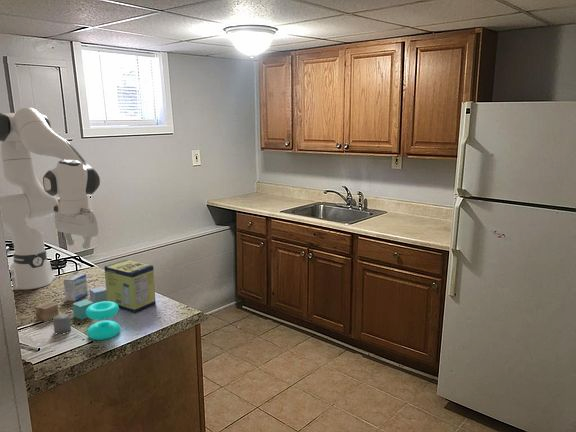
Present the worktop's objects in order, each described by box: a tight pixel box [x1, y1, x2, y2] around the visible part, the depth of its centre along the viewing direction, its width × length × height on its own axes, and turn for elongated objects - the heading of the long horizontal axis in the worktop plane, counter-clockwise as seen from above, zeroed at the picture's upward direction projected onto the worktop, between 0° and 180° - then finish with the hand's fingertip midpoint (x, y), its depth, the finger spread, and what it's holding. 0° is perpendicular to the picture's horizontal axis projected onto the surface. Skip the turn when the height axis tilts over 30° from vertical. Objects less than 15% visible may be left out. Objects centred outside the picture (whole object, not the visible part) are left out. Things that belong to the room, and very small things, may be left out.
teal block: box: [72, 299, 93, 321], centre depth 164 cm, size 5×5×5 cm
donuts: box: [86, 301, 121, 341], centre depth 149 cm, size 10×10×10 cm
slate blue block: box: [89, 286, 107, 304], centre depth 177 cm, size 5×5×5 cm
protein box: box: [104, 259, 157, 314], centre depth 173 cm, size 10×16×16 cm
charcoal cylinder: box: [52, 313, 72, 335], centre depth 152 cm, size 5×5×5 cm
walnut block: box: [34, 301, 59, 323], centre depth 162 cm, size 5×5×5 cm
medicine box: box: [63, 273, 89, 302], centre depth 181 cm, size 8×4×9 cm, turn 168°
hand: (78, 246), depth 160 cm, fingers open, 8 cm apart
